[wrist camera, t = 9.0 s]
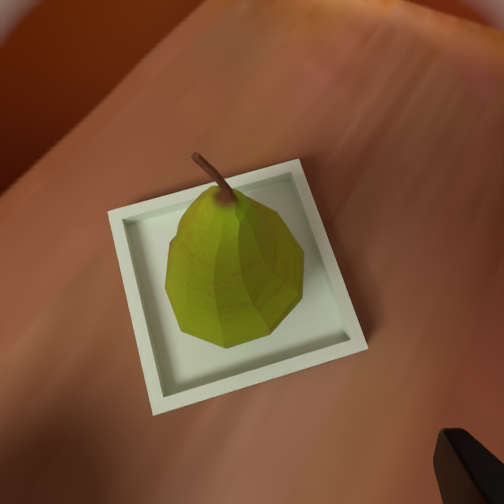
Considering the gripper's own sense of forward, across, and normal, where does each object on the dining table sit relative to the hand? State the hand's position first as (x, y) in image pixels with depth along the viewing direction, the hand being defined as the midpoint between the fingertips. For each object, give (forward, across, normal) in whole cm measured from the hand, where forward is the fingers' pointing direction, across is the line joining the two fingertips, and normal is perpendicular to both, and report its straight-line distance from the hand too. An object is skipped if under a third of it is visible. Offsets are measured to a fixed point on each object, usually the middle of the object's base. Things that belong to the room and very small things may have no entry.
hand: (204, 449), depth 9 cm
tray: (+14, 0, +5) cm, 15 cm away
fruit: (+13, 0, +5) cm, 14 cm away
